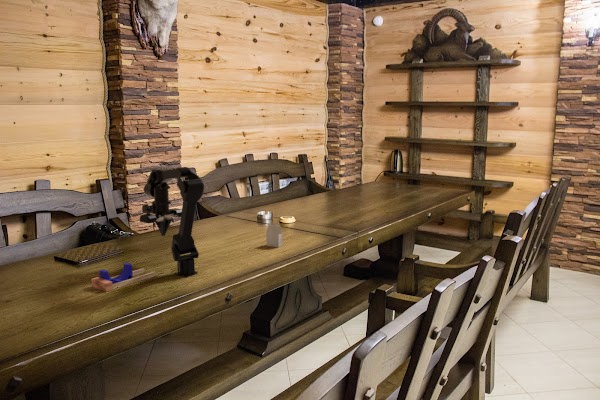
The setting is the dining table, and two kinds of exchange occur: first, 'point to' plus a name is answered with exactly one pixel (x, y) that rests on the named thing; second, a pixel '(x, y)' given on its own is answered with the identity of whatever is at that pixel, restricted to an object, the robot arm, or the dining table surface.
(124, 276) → the blue cradle block
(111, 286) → the guide track
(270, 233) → the grey upright block
